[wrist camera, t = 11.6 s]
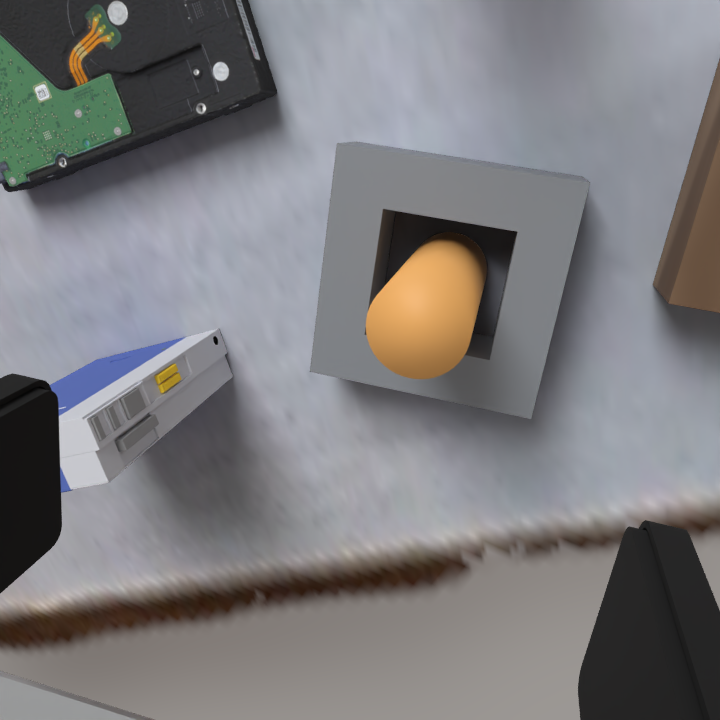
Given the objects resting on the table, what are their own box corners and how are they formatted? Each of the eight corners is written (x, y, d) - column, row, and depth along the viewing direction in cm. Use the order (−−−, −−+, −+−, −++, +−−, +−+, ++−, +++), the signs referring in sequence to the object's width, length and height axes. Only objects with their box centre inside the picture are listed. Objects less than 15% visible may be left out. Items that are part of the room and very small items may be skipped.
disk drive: (203, -153, 29) (-58, -13, 33) (172, -181, 26) (-107, -25, 30) (285, 94, 31) (33, 194, 36) (265, 91, 29) (-5, 199, 33)
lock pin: (494, 239, 31) (481, 287, 21) (478, 313, 32) (460, 388, 23) (418, 226, 31) (373, 267, 22) (406, 299, 32) (359, 367, 23)
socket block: (582, 176, 29) (590, 182, 26) (530, 390, 32) (530, 419, 29) (356, 141, 31) (336, 143, 27) (329, 348, 34) (309, 371, 31)
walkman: (115, 404, 38) (-52, 518, 27) (96, 359, 37) (-83, 456, 26) (238, 377, 36) (110, 488, 25) (220, 327, 35) (81, 419, 24)
